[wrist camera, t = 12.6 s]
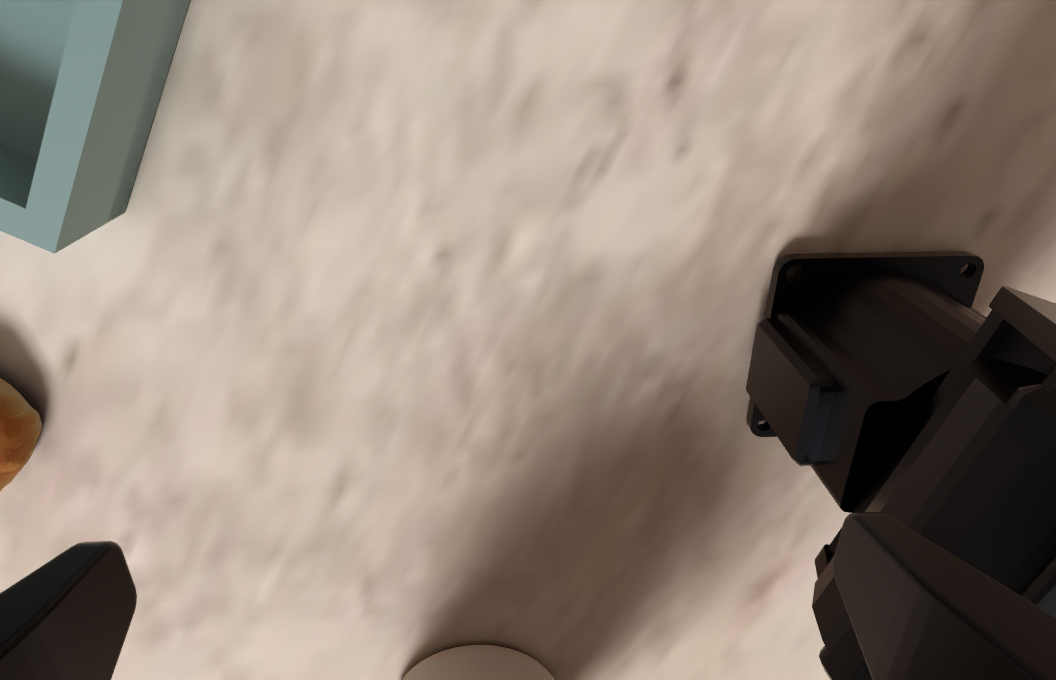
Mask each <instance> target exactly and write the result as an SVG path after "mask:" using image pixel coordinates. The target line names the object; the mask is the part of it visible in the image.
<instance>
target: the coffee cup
mask: <svg viewBox="0 0 1056 680" xmlns="http://www.w3.org/2000/svg"><path fill="white" fill-rule="evenodd" d="M402 680H554V678H553V676H552V675H551V674H550V673H549V671H548V670H547V669H546V668H545V667H544V666H543V665H542V664H540V663H539V662H538V661H536V660H535V659H533V658H532V657H530V656H528V655H526V654H524V653H521V652H519V651H516V650H513V649H510V648H505V647H500V646H494V645H468V646H460V647H455V648H451V649H447V650H444V651H441V652H438V653H436V654H434V655H432V656H430V657H428V658H426V659H424V660H422V661H421V662H420V663H418V664H417V665H416V666H415V667H413V668H412V669H411V670H410V671H409V672H408V673H407V674H406V675H405V676H404V678H403V679H402Z"/></svg>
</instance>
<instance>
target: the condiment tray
mask: <svg viewBox="0 0 1056 680" xmlns="http://www.w3.org/2000/svg"><path fill="white" fill-rule="evenodd" d="M189 3H190V0H0V231H3V232H5V233H7V234H10V235H12V236H14V237H17V238H19V239H22V240H24V241H26V242H29V243H31V244H33V245H36V246H38V247H40V248H43V249H45V250H48V251H50V252H52V253H56V252H58V251H59V250H61V249H63V248H65V247H66V246H68V245H70V244H71V243H73V242H75V241H77V240H78V239H80V238H82V237H83V236H85V235H87V234H89V233H90V232H92V231H94V230H96V229H97V228H99V227H101V226H102V225H104V224H106V223H108V222H109V221H111V220H113V219H114V218H116V217H118V216H120V215H121V214H123V213H125V211H126V207H127V204H128V201H129V198H130V194H131V191H132V188H133V185H134V181H135V178H136V175H137V172H138V168H139V165H140V162H141V159H142V155H143V152H144V149H145V146H146V142H147V139H148V136H149V133H150V129H151V126H152V123H153V120H154V116H155V113H156V110H157V107H158V103H159V100H160V97H161V94H162V90H163V87H164V84H165V81H166V78H167V74H168V71H169V68H170V65H171V61H172V58H173V55H174V52H175V48H176V45H177V42H178V39H179V35H180V32H181V29H182V26H183V22H184V19H185V16H186V13H187V9H188V6H189Z"/></svg>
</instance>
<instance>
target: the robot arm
mask: <svg viewBox="0 0 1056 680" xmlns="http://www.w3.org/2000/svg"><path fill="white" fill-rule="evenodd" d="M966 264H968V267H967V268H966V270H965V271H964V272H962V273H960V270H961V268H962V267H963V266H964V265H966ZM794 266H797V270H796V273H795V274H794V275H792V276H790V277H786V273H787V271H788V270H789V269H790V268H791V267H794ZM983 270H984V263H983V260H982V259H981V258H979V257H978V256H976V255H974V254H972V253H970V252H965V251H955V252H893V253H831V254H790V255H785V256H784V257H782V258H780V259H779V260H778V261H777V263H776V264H775V266H774V269H773V273H772V279H771V284H770V290H769V295H768V301H767V307H766V312H765V318H763V319H762V320H761V321H760V323H759V324H758V325H757V328H756V334H755V340H754V345H753V351H752V357H751V363H750V368H749V374H748V380H747V386H746V390H747V392H748V394H749V395H750V402H749V408H748V413H747V425H748V426H749V428H750V429H751V431H752V433H753V434H755V435H756V436H760V437H776V436H777V437H778V438H779V440H780V441H781V443H782V444H783V446H784V447H785V449H786V450H787V452H788V453H789V455H790V456H791V458H792V459H793V460H794V461H795V462H796V463H797V464H799V465H800V466H811V467H812V468H813V470H814V471H815V473H816V474H817V476H818V477H819V478H820V480H821V481H822V483H823V484H824V486H825V487H826V488H827V490H828V491H829V493H830V494H831V495H832V497H833V498H834V500H835V501H836V503H837V504H838V505H839V507H840V508H841V509H842V510H843V511H844V512H849V513H851V512H852V513H851V514H849V515H848V516H847V517H846V518H845V521H844V523H843V526H842V528H841V529H840V531H839V532H838V534H837V535H836V537H835V538H834V540H833V541H832V542H831V544H830V545H828V544H826V545H824V547H823V548H822V550H821V551H820V553H819V554H818V555H817V557H816V558H815V566H816V571H817V577H818V579H817V581H816V582H815V587H814V595H813V604H812V608H813V611H814V614H815V618H816V621H817V624H818V627H819V630H820V634H821V637H822V640H823V642H824V644H825V646H824V647H823V649H822V650H821V651H820V655H819V657H820V660H821V663H822V665H823V668H824V670H825V672H826V673H827V675H828V676H829V678H830V679H831V680H1056V304H1055V303H1053V302H1050V301H1047V300H1044V299H1041V298H1038V297H1035V296H1032V295H1029V294H1026V293H1023V292H1020V291H1017V290H1015V289H1012V288H1009V287H1006V286H1002V287H1001V289H1000V290H999V292H998V293H997V295H996V296H995V298H994V299H993V301H992V302H991V303H990V305H989V307H990V308H991V309H992V311H991V312H990V314H989V315H988V317H986V316H984V315H982V314H981V313H979V312H978V311H976V310H974V309H973V308H971V307H972V304H973V301H974V298H975V295H976V292H977V289H978V286H979V283H980V280H981V277H982V274H983ZM762 419H766V420H767V421H766V422H765V423H763V424H760V425H759V424H758V423H759V421H761V420H762ZM136 601H137V594H136V588H135V585H134V582H133V580H132V577H131V574H130V571H129V568H128V566H127V563H126V560H125V557H124V554H123V552H122V549H121V547H120V546H119V545H118V544H117V543H115V542H111V541H100V542H83V543H78V544H76V545H74V546H72V547H71V548H69V549H68V550H66V551H65V552H63V553H61V554H60V555H58V556H57V557H55V558H54V559H52V560H51V561H49V562H48V563H46V564H45V565H43V566H42V567H40V568H39V569H37V570H35V571H34V572H32V573H31V574H29V575H28V576H26V577H25V578H23V579H22V580H20V581H19V582H17V583H16V584H14V585H12V586H11V587H9V588H8V589H6V590H5V591H3V592H2V593H0V680H111V678H112V675H113V672H114V669H115V666H116V664H117V661H118V658H119V655H120V652H121V649H122V646H123V643H124V641H125V638H126V635H127V632H128V629H129V626H130V623H131V620H132V618H133V615H134V611H135V608H136Z"/></svg>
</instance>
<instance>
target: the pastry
mask: <svg viewBox="0 0 1056 680" xmlns="http://www.w3.org/2000/svg"><path fill="white" fill-rule="evenodd" d="M41 430H42V422H41V419H40V415H39V413H38V412H37V411H35V410H34V409H33V408H32V407H31V406H30V405H29V404H28V403H27V401H26V400H25V399H24V398H23V397H22V395H21V394H20V393H19V392H18V391H17V390H16V389H15V388H13V387H12V386H11V385H10V384H8V383H7V382H6V381H4V380H3V379H1V378H0V491H1V490H2V489H3V488H4V487H5V486H6V485H7V484H9V483H10V482H11V481H12V480H13V478H14V477H15V476H16V475H17V473H18V472H19V471H20V470H21V469H22V468H23V466H24V465H25V464H26V463H27V461H28V460H29V459H30V457H31V455H32V453H33V450H34V448H35V445H36V442H37V439H38V437H39V434H40V432H41Z"/></svg>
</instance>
